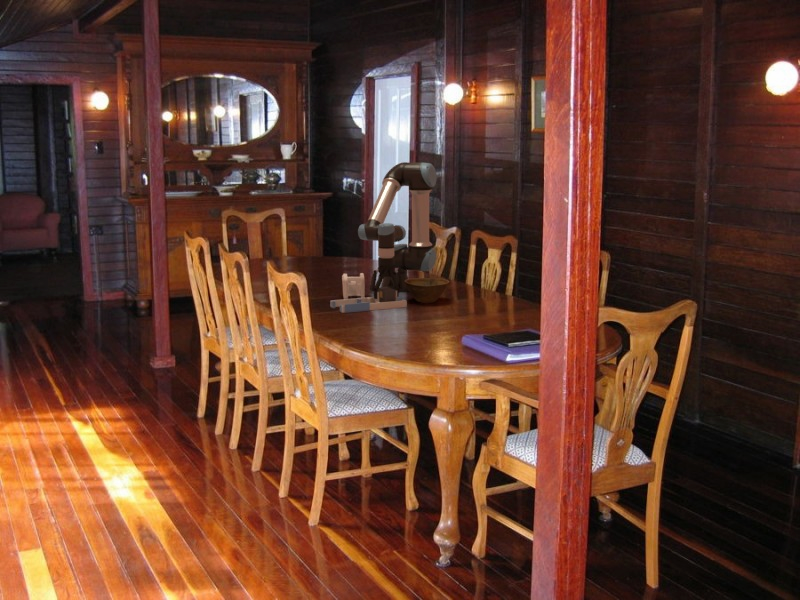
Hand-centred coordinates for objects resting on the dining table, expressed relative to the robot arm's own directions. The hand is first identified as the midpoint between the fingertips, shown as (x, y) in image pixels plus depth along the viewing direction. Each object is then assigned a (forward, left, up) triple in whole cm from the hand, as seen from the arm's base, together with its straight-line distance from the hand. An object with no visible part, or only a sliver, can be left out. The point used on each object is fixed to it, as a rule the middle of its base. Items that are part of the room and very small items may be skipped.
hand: (386, 304), depth 432 cm
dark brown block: (0, 0, 0) cm, 0 cm away
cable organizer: (+7, -23, -1) cm, 24 cm away
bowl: (-22, -1, -1) cm, 22 cm away
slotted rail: (+9, 0, 0) cm, 9 cm away
